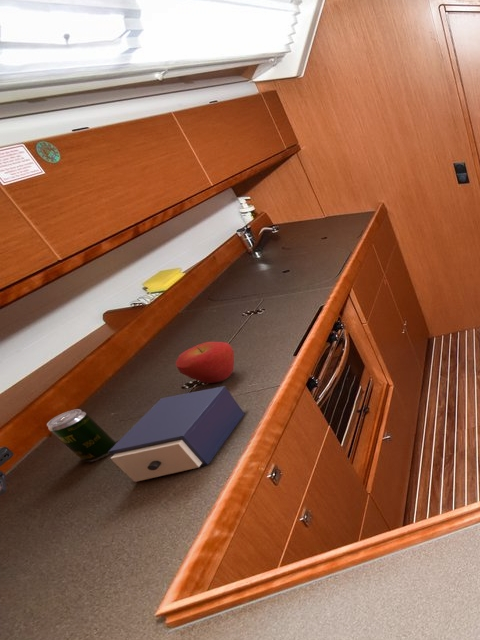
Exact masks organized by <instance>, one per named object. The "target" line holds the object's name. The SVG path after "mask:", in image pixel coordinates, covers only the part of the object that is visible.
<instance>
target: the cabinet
mask: <svg viewBox="0 0 480 640" xmlns="http://www.w3.org/2000/svg"><path fill="white" fill-rule="evenodd" d="M244 416H245V412H244V411H243V409H242V408H241V406H240V405H239V403H238V402H237V401H236V400H235V398H234V397H233V395H232V394H231V393H230V391H229V390H228V389H227V387H226V386H225V385H223V386H217V387H213V388H207V389H202V390H197V391H191V392H186V393H181V394H176V395H171V396H165V397H161V398H160V399H159V400H158V401H157V402H156V403H155V404H154V405H153V406H152V407H151V408H150V409H149V410H148V411H147V412H146V413H145V414H144V415H142V417H141V418H140V419H139V420H138V421H137V422H136V423H135V424H134V425H132V427H130V429H129V430H128V431H127V432H126V433H125V434H123V436H122V437H121V438H120V439H119V440H118V441H117V442H116V444H115V445H114V446H113V447H112V448H111V449H110V450H109V451H108V452H109V453H110V454H109V455H111V457H112V456H113V455H114V454H117V453H121V452H126V451H128V450H133V449H138V448H143V447H147V446H152V445H157V444H161V443H166V442H171V441H176V440H180V439H181V440H183V441H184V443H185V444H186V445H187V446H188V447H189V448H190V449H191V451H192V452H193V453H194V454H195V455H196V456H197V457H198V459H199V460H200V461H201V462H202V464H201V465H200V467H204V466H208V465H209V464H210V463H211V461H212V460H213V459H214V457H215V456H216V454H217V453H218V452H219V450H220V449H221V447H222V446H223V445H224V443H225V442H226V440H227V439H228V438H229V436H230V435H231V433H232V432H233V431H234V429H235V428H236V426H237V425H238V424H239V423H240V421H241V420H242V418H243V417H244Z"/></svg>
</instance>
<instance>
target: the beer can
mask: <svg viewBox="0 0 480 640" xmlns="http://www.w3.org/2000/svg"><path fill="white" fill-rule="evenodd" d="M46 427H48V428H47V429H48V430H49V432H51V433H52V434H53V435H54V436H55V437H56V438H57V439H59V441H61V442H62V443H63V444H64V445H65V446H66V447H67V448H68V449H70V450H71V452H73V453H74V454H75V455H76V456H77V457H78V458H80V459H81V460H82V462H88V463H93V462H96V461H99V460H101V459H104V458H105V457H107V456H109V455H111V454H110V453H109V452H108V451H109V450H110V449H111V448H112V447H113V446H114V445H115V444H116V443H117V442H116V441H115V440H114V439H113V438H112V437H111V436H110V435H109V434H108V433H107V432H106V431H105V430H104V429H103V428H102V427H101V426H100V425H99V424H98V423H97V422H96V421H95V420H94V419H93V418H92V417H91V416H90V415H89V414H88V413H86V411H82V409H79V408H76V409H72V410H68V411H65V412H62V413H61V414H60V413H59V414H58V415H56V416H54V417H52V418H51V419H50V420H49V421H48V422H47V423H46Z"/></svg>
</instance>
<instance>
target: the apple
mask: <svg viewBox="0 0 480 640" xmlns="http://www.w3.org/2000/svg"><path fill="white" fill-rule="evenodd" d="M234 364H235V355H234V348H233V347H232V346H231V345H230V344H229V343H228V342H222V341H207V342H203V343H199V344H197V345H193V346H192V347H191V348H188V349H186V350H185V351H183V352H182V353H180V354H179V356H178V357H177V359H176V361H175V366H176V368H177V370H178V371H179V373H180V374H182V375H184V376H186V377H188V378H190V379H192V380H195V381H197V382H200V383H203V384H216V383H221V382H223V381H225V380H227V379H228V378H229V377H230V376H231V375H232V373H233V372H234V367H235V366H234Z"/></svg>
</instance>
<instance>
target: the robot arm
mask: <svg viewBox="0 0 480 640" xmlns="http://www.w3.org/2000/svg"><path fill="white" fill-rule="evenodd" d="M14 455H15V454H14V452H13V451H12V450H11V449H10V448H8V447H7V446H2V447H0V468H1V467H2V466H3V465H4V464H6V462H8V461H9V460H10V459H12V458H13V457H14ZM6 492H7V474H5V472H3V471H2V470H1V469H0V496H2V495H4V494H6Z"/></svg>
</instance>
